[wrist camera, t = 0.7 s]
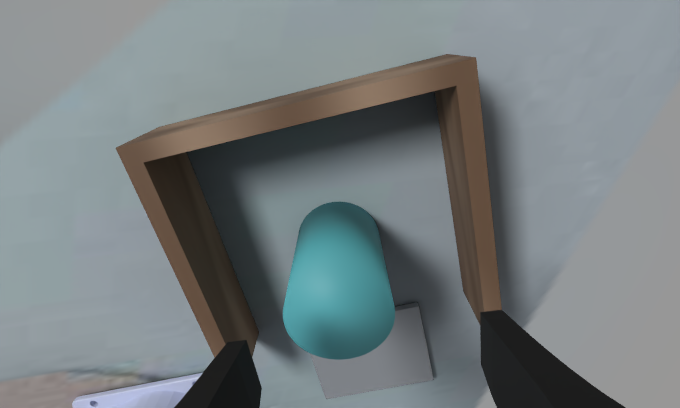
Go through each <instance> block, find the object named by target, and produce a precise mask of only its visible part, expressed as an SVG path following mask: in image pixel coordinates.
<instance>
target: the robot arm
mask: <svg viewBox="0 0 680 408" xmlns="http://www.w3.org/2000/svg"><path fill="white" fill-rule="evenodd" d="M480 326H481V365H482V368H483V371H484V374H485V377H486V380H487V383H488V386H489V389H490V392H491V395H492V397H493V399H494V402H495V404H496V406H497V408H625V407H624V406H622V405H621V404H619V403H618V402H616V401H615V400H613V399H611V398H610V397H608V396H607V395H605V394H604V393H602V392H601V391H600V390H598V389H597V388H595V387H594V386H593V385H591V384H590V383H588V382H587V381H586V380H585V379H583V378H582V377H581V376H579V375H578V374H577V373H575V372H574V371H573V370H571V369H570V368H569V367H567V366H566V365H565V364H564V363H562V362H561V361H560V360H559V359H558V358H556V357H555V356H554V355H553V354H551V353H550V352H549V351H548V350H547V349H545V348H544V347H543V346H542V345H541V344H539V343H538V342H537V341H536V340H535V339H534V338H532V337H531V336H530V335H529V334H528V333H527V332H526V331H525V330H523V329H522V328H521V327H520V326H519V325H518V324H517V323H516V322H515V321H513V320H512V319H511V318H510V317H509V316H508V315H507V314H506V313H505V312H503V311H502V310H494V311H486V312H480ZM261 389H262V388H261V384H260V381H259V378H258V375H257V372H256V369H255V365H254V362H253V359H252V356H251V353H250V349H249V346H248V343H247V340H241V341H233V342H227V343H226V345H225V346H224V347H223V348H222V350H221V351H220V352H219V353H218V355H217V356H216V357H215V358H214V360H213V361H212V362H211V363H210V365H209V366H208V367H207V368H206V370H205V371H204V372H203V373H199V374H193V375H188V376H183V377H178V378H173V379H167V380H162V381H157V382H152V383H147V384H141V385H136V386H131V387H126V388H121V389H115V390H110V391H105V392H100V393H95V394H89V395H84V396H79V397H77V398H76V399H75V400H74V402H73V403H72V406H73V408H259V406H260V397H261Z"/></svg>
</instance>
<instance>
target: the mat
mask: <svg viewBox="0 0 680 408" xmlns="http://www.w3.org/2000/svg"><path fill="white" fill-rule="evenodd" d="M310 355H311V358H312V360H313V363H314V366H315V369H316V372H317V375H318V378H319V380H320V383H321V386H322V389H323V392H324V395H325V398H326V399H331V398H336V397H342V396H347V395H353V394H358V393H364V392H369V391H375V390H380V389H386V388H392V387H397V386H403V385H408V384H414V383H419V382H425V381H430V380H434V379H433V375H432V370H431V365H430V360H429V355H428V350H427V345H426V340H425V335H424V330H423V325H422V320H421V315H420V310H419V305H418V302H416V303H411V304H406V305H401V306H396V307H395V320H394V325H393V328H392V330H391V332H390V334H389V335H388V337H387V338H386V340H385V341H384V342H383V343H382V344H381V345H379V346H378V347H377V348H376V349H374V350H373V351H371V352H369V353H367V354H365V355H362V356H359V357H356V358H352V359H343V360H335V359H327V358H322V357H318V356H316V355H313V354H311V353H310Z"/></svg>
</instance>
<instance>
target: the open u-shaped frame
mask: <svg viewBox="0 0 680 408" xmlns="http://www.w3.org/2000/svg"><path fill="white" fill-rule="evenodd" d="M433 91H435V97H436V104H437V111H438V118H439V125H440V132H441V139H442V146H443V153H444V160H445V167H446V174H447V181H448V188H449V194H450V201H451V208H452V215H453V222H454V229H455V236H456V243H457V250H458V257H459V264H460V271H461V278H462V285H463V292H464V294H465V296H466V298H467V300H468V302H469V304H470V306H471V308H472V310H473V312H474V314H475V316H476V318H477V320H478V322H479V324H480V312H486V311H494V310H502V307H501V298H500V288H499V278H498V268H497V258H496V248H495V238H494V229H493V219H492V209H491V199H490V189H489V179H488V170H487V160H486V150H485V140H484V130H483V120H482V110H481V101H480V91H479V81H478V71H477V61H476V58H475V57H467V56H459V55H450V54H446V55H442V56H438V57H434V58H430V59H426V60H422V61H418V62H415V63H411V64H407V65H403V66H399V67H395V68H391V69H387V70H383V71H379V72H375V73H371V74H367V75H363V76H359V77H355V78H351V79H347V80H343V81H339V82H335V83H331V84H328V85H324V86H320V87H316V88H312V89H308V90H304V91H300V92H296V93H292V94H288V95H284V96H280V97H276V98H272V99H268V100H264V101H260V102H256V103H252V104H248V105H244V106H241V107H237V108H233V109H229V110H225V111H221V112H217V113H213V114H209V115H205V116H201V117H197V118H193V119H189V120H185V121H181V122H177V123H173V124H169V125H165V126H161V127H158V128H156V129H154V130H152V131H150V132H148V133H146V134H144V135H142V136H139V137H137V138H135V139H133V140H131V141H129V142H127V143H125V144H123V145H121V146H119V147H116V150H117V152H118V154H119V156H120V158H121V160H122V162H123V165H124V167H125V169H126V171H127V173H128V175H129V177H130V179H131V182H132V184H133V186H134V188H135V190H136V192H137V194H138V196H139V198H140V201H141V203H142V205H143V207H144V209H145V211H146V213H147V215H148V217H149V220H150V222H151V224H152V226H153V228H154V230H155V232H156V234H157V237H158V239H159V241H160V243H161V245H162V247H163V249H164V251H165V253H166V256H167V258H168V260H169V262H170V264H171V266H172V268H173V270H174V273H175V275H176V277H177V279H178V281H179V283H180V285H181V287H182V289H183V292H184V294H185V296H186V298H187V300H188V302H189V304H190V306H191V309H192V311H193V313H194V315H195V317H196V319H197V321H198V323H199V325H200V328H201V330H202V332H203V334H204V336H205V338H206V340H207V342H208V344H209V347H210V349H211V351H212V353H213V355H214V357H216V356H217V355H218V353H219V352H220V351H221V350H222V348H223V347H224V346H225V345H226V343H227V342H233V341H241V340H247V343H248V346H249V349H250V353H251V356H253V352H254V348H255V345H256V341H257V337H258V334H259V331H258V329H257V326H256V324H255V321H254V319H253V316H252V314H251V311H250V309H249V307H248V304H247V302H246V299H245V297H244V294H243V292H242V289H241V287H240V284H239V282H238V279H237V277H236V274H235V272H234V269H233V267H232V264H231V262H230V259H229V257H228V254H227V252H226V249H225V247H224V245H223V242H222V240H221V237H220V235H219V232H218V230H217V227H216V225H215V222H214V220H213V217H212V215H211V212H210V210H209V207H208V205H207V202H206V200H205V197H204V195H203V192H202V190H201V187H200V185H199V183H198V180H197V178H196V175H195V173H194V170H193V168H192V165H191V163H190V160H189V158H188V155H187V153H186V152H188V151H192V150H196V149H200V148H204V147H208V146H213V145H217V144H221V143H225V142H229V141H233V140H237V139H241V138H245V137H249V136H253V135H257V134H261V133H266V132H270V131H274V130H278V129H282V128H286V127H290V126H294V125H298V124H302V123H306V122H310V121H314V120H318V119H323V118H327V117H331V116H335V115H339V114H343V113H347V112H351V111H355V110H359V109H363V108H367V107H371V106H376V105H380V104H384V103H388V102H392V101H396V100H400V99H404V98H408V97H412V96H416V95H420V94H424V93H429V92H433Z"/></svg>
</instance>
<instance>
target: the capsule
mask: <svg viewBox="0 0 680 408" xmlns="http://www.w3.org/2000/svg"><path fill="white" fill-rule="evenodd" d="M394 320H395V307H394V302H393V297H392V292H391V288H390V283H389V278H388V273H387V269H386V264H385V259H384V255H383V250H382V245H381V240H380V236H379V231H378V228H377V225H376V223H375V221H374V219H373V218H372V217H371V215H370V214H369V213H368V212H366V211H365V210H364V209H362V208H361V207H359V206H357V205H354V204H351V203H347V202H331V203H327V204H323V205H321V206H319V207H317V208H315V209H314V210H313V211H311V212H310V213H309V214H308V215H307V216H306V218H305V219H304V220H303V222H302V224H301V227H300V230H299V235H298V240H297V244H296V249H295V254H294V259H293V264H292V268H291V273H290V278H289V283H288V288H287V293H286V297H285V302H284V307H283V321H284V325H285V328H286V330H287V332H288V334H289V336H290V337H291V338H292V340H293V341H294V342H295V343H296V344H297V345H298V346H299V347H301V348H302V349H304V350H305V351H307V352H309V353H311V354H313V355H316V356H318V357H322V358H327V359H335V360H343V359H352V358H356V357H359V356H362V355H365V354H367V353H369V352H371V351H373V350H374V349H376V348H377V347H378V346H379V345H381V344H382V343H383V342H384V341H385V340H386V338H387V337H388V335H389V334H390V332H391V330H392V328H393V325H394Z"/></svg>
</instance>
